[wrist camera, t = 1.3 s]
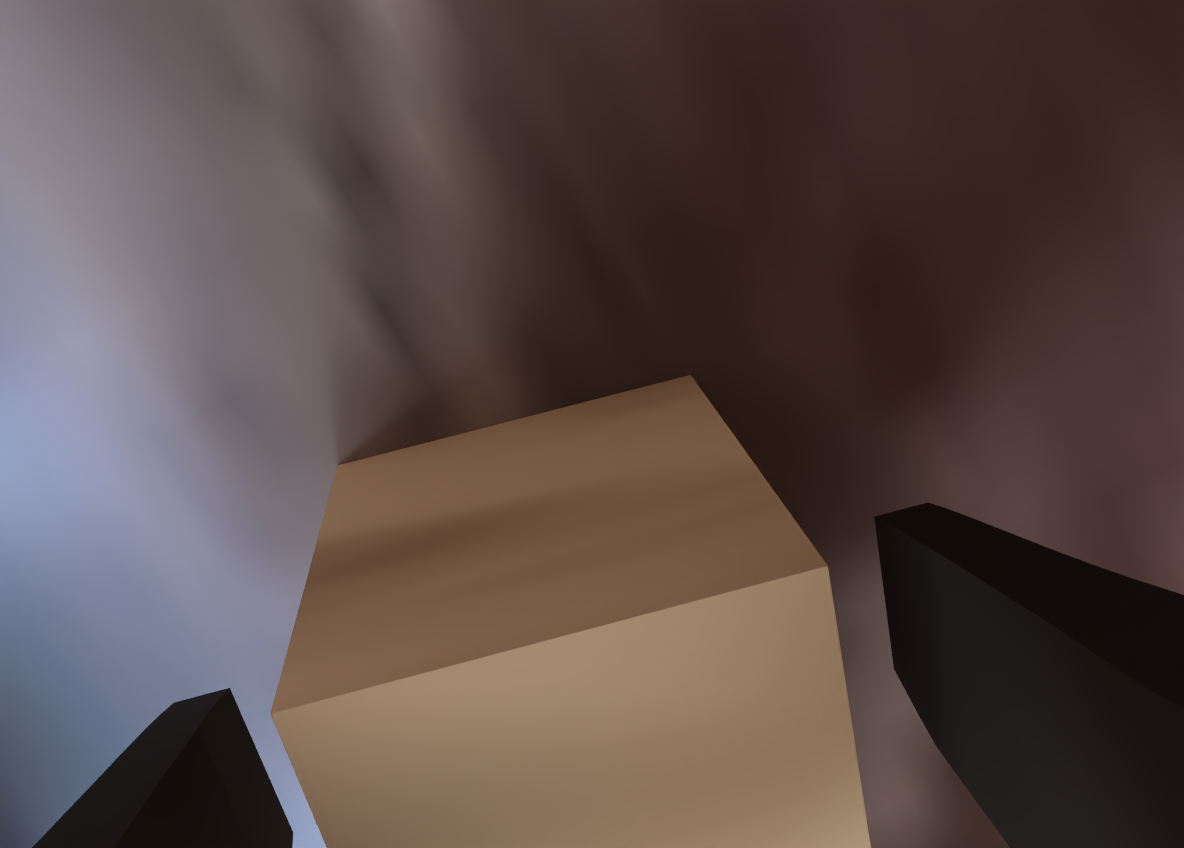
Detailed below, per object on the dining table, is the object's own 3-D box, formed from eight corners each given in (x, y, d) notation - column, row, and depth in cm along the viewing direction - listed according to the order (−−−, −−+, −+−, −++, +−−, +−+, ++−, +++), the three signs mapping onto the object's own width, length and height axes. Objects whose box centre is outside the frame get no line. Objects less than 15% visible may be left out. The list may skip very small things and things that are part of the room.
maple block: (747, 666, 14) (888, 965, 10) (438, 749, 14) (430, 1095, 9) (690, 373, 13) (827, 565, 8) (338, 463, 12) (270, 713, 8)
